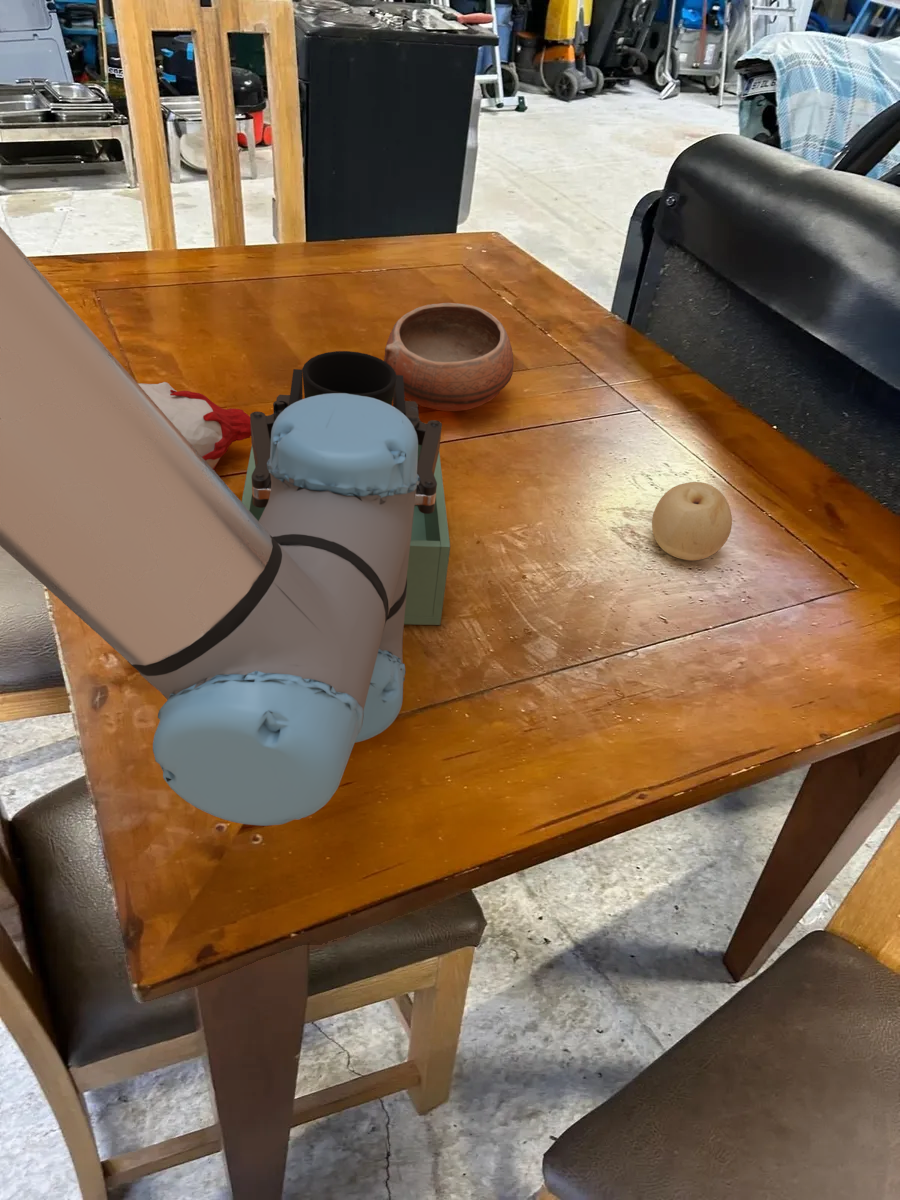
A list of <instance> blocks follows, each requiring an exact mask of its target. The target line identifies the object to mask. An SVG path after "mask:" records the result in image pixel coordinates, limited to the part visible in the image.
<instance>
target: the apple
mask: <svg viewBox="0 0 900 1200" xmlns="http://www.w3.org/2000/svg"><path fill="white" fill-rule="evenodd" d="M732 526H733V516H732V511H731V507H730V505H729V502H728V500H727V498H726V497H725V495H724V494H723V493H722V492H721V491H720V490H719V489H718V488H716V487H715V486H713V485H712V484H709V483H706V482H701V481H691V482H683V483H680V484H678V485H677V484H676V485H675V486H673V487H671V488H670V489H668V490H667V491H666V492H665V493H664V494H663V495H662V496H661V498H660V499H659V500H658V502H657V504H656V506H655V508H654V511H653V513H652V519H651V530H652V534H653V537H654V540H655V541H656V543H657V545H658V547H660V549H662V551H664V553H666V554H668V555H670V556H671V557H673V558H677V559H679V560H684V561H701V560H704V559H707V558H709V557H711V556H712V555H715V554H716V553H717V552H718V551H720V550H721V549H722V548H723V546H725V544H726V543H727V541H728V539H729V537H730V534H731V531H732Z"/></svg>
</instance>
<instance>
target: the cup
mask: <svg viewBox="0 0 900 1200" xmlns="http://www.w3.org/2000/svg"><path fill="white" fill-rule="evenodd" d="M301 370H302V386H303V396H304V399H305V398H308V397H312V396H316V395H322V394H330V393H347V394H353V395H359V396H366V397H371V398H375V399H378V400H381V401H383V402H385V403H387V404H389V405H391V406H393V396H394V391H395V385H396V380H397V376H396V372H395V371H394V370H393V368H392V367H391V366H390V365H389V364H387V363H386V362H385V361H384V360H383V359H381V358H379V357H377V356H374V355H371V354H368V353H364V352H360V351H349V350H337V351H336V350H334V351H328V352H324V353H320V354H317V355H315V356H312V357H311V358H309V360H307V361H306V362H304V365H303V367H302V368H301Z"/></svg>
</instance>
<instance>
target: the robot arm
mask: <svg viewBox="0 0 900 1200" xmlns="http://www.w3.org/2000/svg"><path fill="white" fill-rule="evenodd" d="M396 376H397V380H396V385H395V391H394V396H393V401H392V406H391V405H389V404H387V403H385V402H383V401H381V400H378V399H375V398H371V397H366V396H359V395H353V394H347V393H330V394H322V395H316V396H312V397H308V398H305V397H304V398H303V396H304V391H303V374H302V369H298V368H293V370H292V377H291V383H290V384H291V385H290V392H289V393H290V394H279V395H278V396H276V400H275V401H273V403H272V408H273V413H272V414H269V415H266V414H265V413H264V412H262V411H253V412H251V413H250V414H249V416H250V423H251V437H250V438H251V439H250V440H251V447H253V454H254V460H255V466H256V467H255V469H254V471H253V473H252V494H253V504H254V506H256V507H259V508H264V507H265V509H264V511H263V513H262V515H261V517H260V520H259V521H258V520H257V519H256V518H255V517H254V516H253V515H252V514H251V512H250V511H249V510H248V509H247V508H246V507H245V506H244V504H243V503H242V500H240V499H239V497H238V496H237V495H236V494H235V492H234V491H232V489H231V488H230V487H229V486H228V484H226V482H225V481H224V480H223V479H222V478H221V477H220V475H218V473H217V472H216V471H215V469H214V470H213V469H212V468H211V467H210V466H209V464H208V463H207V462H206V461H205V460H204V459H203V458H202V456H201V455H200V454H199V453H198V452H197V451H196V450H195V448H194V447H193V446H192V445H191V444H190V443H189V442H188V440H187V439H186V438H185V437H184V436H183V435H182V434H181V432H180V431H179V430H178V429H177V428H176V427H175V426H174V424H173V423H172V422H171V421H170V420H169V419H168V418H167V416H166V415H165V414H164V413H163V412H162V411H161V410H160V408H159V407H158V406H157V405H156V404H155V403H154V402H153V400H152V399H151V398H150V397H149V396H148V395H147V394H146V392H145V391H144V390H143V389H142V388H141V387H140V386H139V383H138V382H137V380H135V378H134V377H133V376H132V375H131V374H130V373H129V372H128V371H127V369H126V368H125V367H124V366H123V365H122V364H121V363H120V361H119V360H118V359H117V358H116V357H115V356H114V355H113V354H112V353H111V351H110V350H109V349H108V348H107V346H105V344H104V343H103V342H102V341H101V340H100V338H98V336H97V335H96V334H95V333H94V332H93V331H92V330H91V328H90V327H89V326H88V325H87V324H86V323H85V321H84V320H83V319H82V317H80V316H79V315H78V314H77V313H76V311H75V310H74V309H73V308H72V307H71V305H70V304H69V303H68V302H67V301H66V299H64V297H62V295H61V294H60V293H59V292H58V290H57V289H55V287H54V286H53V285H52V284H51V283H50V282H49V280H48V279H47V278H46V277H45V275H43V273H42V272H40V270H39V269H38V268H37V267H36V266H35V265H34V263H33V262H32V261H31V260H30V259H29V258H28V257H27V255H26V254H25V253H24V251H22V250H21V248H19V246H18V245H17V244H16V243H15V242H14V240H13V239H12V238H11V237H10V236H9V235H8V234H7V233H6V231H5V230H4V229H3V228H2V227H1V226H0V547H1V549H3V550H4V551H5V552H6V553H8V554H9V556H11V557H12V558H13V559H14V560H15V561H17V563H19V564H20V565H21V566H22V567H23V568H24V569H25V570H26V571H28V572H29V573H30V574H31V575H32V576H33V577H34V578H35V579H36V580H37V581H38V582H39V583H41V584H42V585H43V586H44V587H45V588H46V589H47V590H48V591H50V592H51V594H53V595H54V596H55V597H56V598H57V599H58V600H59V601H61V602H62V603H63V604H64V605H65V606H66V607H67V608H68V609H69V610H70V611H72V612H73V614H75V615H76V616H77V617H78V618H80V619H81V621H83V622H84V623H85V624H86V625H87V626H88V627H89V628H90V629H91V630H93V631H94V633H96V634H97V635H98V636H99V637H100V638H101V639H103V640H104V642H106V643H107V644H108V645H109V646H110V647H111V648H112V649H114V650H115V651H116V652H117V653H118V654H119V655H120V656H121V657H122V658H124V659H125V660H126V661H127V663H128V664H129V665H131V666H132V667H133V668H134V669H135V670H136V671H137V672H138V673H139V675H140V676H141V677H142V678H143V679H145V680H146V681H147V682H148V683H149V684H150V685H151V686H152V687H154V689H156V690H157V691H158V692H159V693H161V695H162V696H163V697H164V698H165V700H166V701H165V702H164V703H163V705H162V706H161V707H160V708H159V710H158V712H157V719H158V720H159V722H158V725H157V727H156V730H155V731H154V735H153V741H152V753H153V756H154V761H155V763H157V764H158V765H159V766H160V768H161V771H162V778H163V780H164V782H165V783H166V784H167V785H168V787H169V788H170V789H171V790H172V791H174V794H176V795H178V796H179V798H181V799H183V800H184V801H185V802H186V803H188V804H190V805H191V806H193V807H194V808H196V809H198V810H201V811H202V812H204V813H207V814H209V815H211V816H213V817H216V818H219V819H222V820H224V821H228V822H231V823H235V824H242V825H249V826H250V825H251V826H261V827H263V826H264V827H268V826H280V825H284V824H287V823H290V822H292V821H294V820H301V819H302V818H303V819H304V818H307V817H310V816H311V815H313V814H315V813H316V812H318V811H320V810H321V809H322V808H323V807H325V806H326V805H327V804H328V803H329V802H330V800H331V799H332V797H333V796H334V795H335V793H336V791H337V790H338V788H339V786H340V784H341V782H342V778H343V776H344V772H345V770H346V767H347V764H348V762H349V759H350V757H351V753H352V751H353V748H354V746H355V743H356V744H357V743H360V742H364V741H367V740H369V739H371V738H374V737H376V736H378V735H380V734H381V733H383V732H384V731H386V730H387V729H389V727H390V726H391V725H392V724H393V723H394V722H395V721H396V719H397V717H398V716H399V714H400V712H401V710H402V706H403V700H404V682H405V680H406V678H405V676H406V666H405V663H404V662H403V661H404V660H403V644H404V643H403V639H404V637H403V636H404V627H405V624H404V617H405V606H406V595H407V569H408V560H409V550H410V542H411V533H412V524H413V515H414V505H417V506H418V509H419V511H420V512H422V513H425V514H430V513H432V512H433V511H434V507H435V498H436V489H437V482H436V479H435V477H434V472H435V467H436V463H437V458H438V454H439V453H440V449H441V448H440V447H441V439H442V438H441V437H442V428H443V423H442V422H441V421H439V420H435V419H432V420H429V421H427V423H426V422H423V421H421V419H420V415H419V405H418V404H417V403H416V402H415V401H410V400H406V398H405V395H404V380H403V375H396ZM270 438H271V442H270ZM418 445H422V447H421V451H420V455H419V459H418ZM417 462H418V463H417Z"/></svg>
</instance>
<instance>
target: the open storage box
mask: <svg viewBox="0 0 900 1200" xmlns="http://www.w3.org/2000/svg"><path fill="white" fill-rule="evenodd" d="M270 442H271V438H270ZM421 447H422V445H418V459H419V455H420V451H421ZM440 454H441V453H440V452H439V454H438V458H437V463H436V467H435V472H434V477H435V479H436V482H437V489H436V498H435V507H434V511H433V512H432V513H430V514H425V513H422V512H420V511H419V509H418V506H417V505H414V515H413V524H412V533H411V542H410V550H409V560H408V569H407V595H406V606H405V617H404V625H415V626H416V625H419V626H441V624H442V616H443V607H444V600H445V592H446V584H447V576H448V568H449V559H450V551H451V541H450V533H449V524H448V516H447V507H446V497H445V490H444V489H445V488H444V480H443V473H442V472H443V471H442V464H441V463H442V461H441V455H440ZM417 463H418V462H417ZM255 467H256V466H255V460H254V454H253V447H252V446H251V447H250V453H249V458H248V464H247V470H246V474H245V475H246V476H245V480H244V485H243V492H242V497H241V502H242V503H243V504H244V506H245V507H246V508H247V509H248V510H249V511H250V512H251V514H252V515H253V516H254V517H255V518H256V519H257V520H258V521H259V520H260V517H261V515H262V513H263V511H264V509H265V507H264V508H259V507H256V506H254V504H253V494H252V473H253V471H254V469H255Z"/></svg>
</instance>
